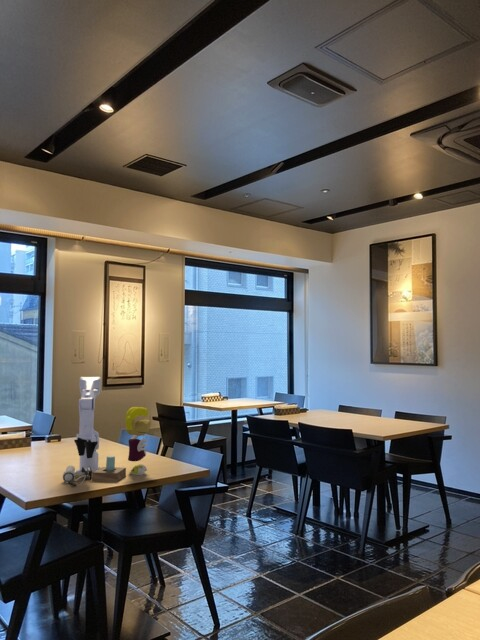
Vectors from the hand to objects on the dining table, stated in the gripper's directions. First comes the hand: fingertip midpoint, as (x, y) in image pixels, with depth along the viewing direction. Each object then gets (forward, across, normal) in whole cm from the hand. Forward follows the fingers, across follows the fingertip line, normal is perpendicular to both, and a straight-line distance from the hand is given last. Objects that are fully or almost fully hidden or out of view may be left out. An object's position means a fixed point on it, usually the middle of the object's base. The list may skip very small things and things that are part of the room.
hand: (85, 456), depth 220 cm
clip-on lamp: (+10, -3, +5) cm, 11 cm away
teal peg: (+9, -6, -9) cm, 14 cm away
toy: (+10, -4, -24) cm, 26 cm away
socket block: (+9, -6, -8) cm, 14 cm away
